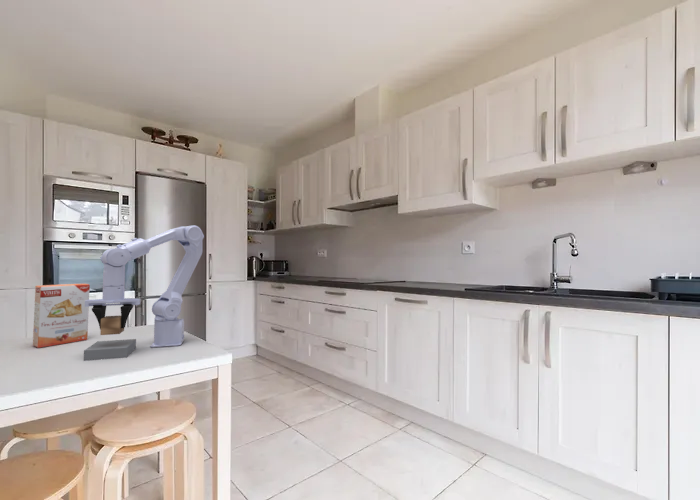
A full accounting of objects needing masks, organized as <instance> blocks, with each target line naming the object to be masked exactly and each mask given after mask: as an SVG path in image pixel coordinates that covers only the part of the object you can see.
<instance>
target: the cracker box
mask: <svg viewBox="0 0 700 500" xmlns="http://www.w3.org/2000/svg"><path fill="white" fill-rule="evenodd" d="M90 286H91V285H90V284H89V283H62V284H61V283H60V284H44V285H41V284H40V285H35V287H34V288H35V289H34V290H35V291H34V307H33V309H34V311H33V315H34V316H33V329H32V330H33V331H32V346H34V347H36V348H37V349H41V348H46V347H51V346H57V345H58V346H59V345H63V344H70V343H75V342H81V341H82V342H83V341H87V340H88V334H89V333H88V331H89V312H90V310H89V309H90V306H89V307H85V300H90Z"/></svg>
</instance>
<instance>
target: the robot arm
mask: <svg viewBox="0 0 700 500" xmlns="http://www.w3.org/2000/svg"><path fill="white" fill-rule="evenodd" d="M204 239H205V235H204V233H203V230H202V229H201V227H200V226H198V225H194V224H193V225H188V226H186V225H185V226H184V225H180V226H178V227H174V228H171V229H167V230H165V231H163V232H161V233H159V234H157V235H153V236H152V237H149V238H146V239H144V238H140V237H138V238H137V237H133V238H132V239H130V240H131V241H128V242H125V243H122V244H117V245H116V247H115V248H107V249H106V250H105V251H103V253H102V254H101V256H100V262H101V263H102V264H103V272H102V298H99V299H98V298H97V299H96V298H95V299H89V300H85V307H89V308H90V307H91V311H92V313H93V314H94V316H95V318H96V320H97V322H98V326H99V327H98V328H99V330H101V319H102V318H104V317H106V311H107V307H108V306H110V307H111V306H120V307H119V309H120V316H121V328H124V329H125V328H126V324H127V321H128V318H129V315H130V314H131V311H132V310H133V308H134V306H139V305H141V298H137V297H136V298H133V297H131V298H128V297H125V291H126V290H125V288H126V287H125V286H126V285H125V282H126V264H127V263H128V262H130V261H133V260H135V259H138V258H140V257H142V256H145V255H147V254H149V253H150V250H151V248H155V247H157V246H159V245H163V244H164V243H165V244H166V243H168V242H170V241H177V242H178V243H179V244H180V245H181V246H182V248H183V250H184V251H185V254H184V255H183V257H182V259H181V262H180V264H179V265H178V267H177V269H176V271H175V273H174V276H173V277H172V279H171V281H170V282H169V285H168V287H167V289H166V290H165V291H164V292H163V293H162V294H161V295H160V296H159V297H158V299H157V300H156V301H154V303H153V304H152V305H151V312H152V314H153V315H154V322H153V323H154V324H153V325H154V327H153V329H154V330H153V342H152V344H151V345H150V348H159V347H161V348H163V347H174V346H176V347H177V346H181V345H182V343H183V342H184V341H185V334H184V333H185V320H184V318H178V317H179V316H180V315H181V311H182V304H183V301H184V300H183V297H182V296H183V293H184V291H185V289H186V288H187V286H188V283H189V281H190V279H191V277H192V275H193V273H194V271H195V269H196V267H197V265H198V263H199V261H200V259H201V257H202V255H203V240H204Z"/></svg>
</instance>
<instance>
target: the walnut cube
mask: <svg viewBox="0 0 700 500" xmlns="http://www.w3.org/2000/svg"><path fill="white" fill-rule="evenodd" d="M124 331H125V327H124V328H121V315H105V317H104V318H102V319H101V329H100V332H99V334H100V336H108V335H109V336H111V335H120V334H121V333H123V332H124Z"/></svg>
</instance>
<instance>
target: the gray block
mask: <svg viewBox="0 0 700 500" xmlns="http://www.w3.org/2000/svg"><path fill="white" fill-rule="evenodd" d="M136 349H137V339H136V338H133V339H132V338H131V339H115V340H113V339H112V340H98V341H96V342H94V343H92V345H90V346H88V347H87V348H86V349H84V350H83V362H86V361H88V362H89V361H99V360H101V359H102V360H110V359H111V360H113V359H123V358H124V359H126V358H128V357H129V356H130V354H132V353H133V352H134V351H135V350H136Z"/></svg>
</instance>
